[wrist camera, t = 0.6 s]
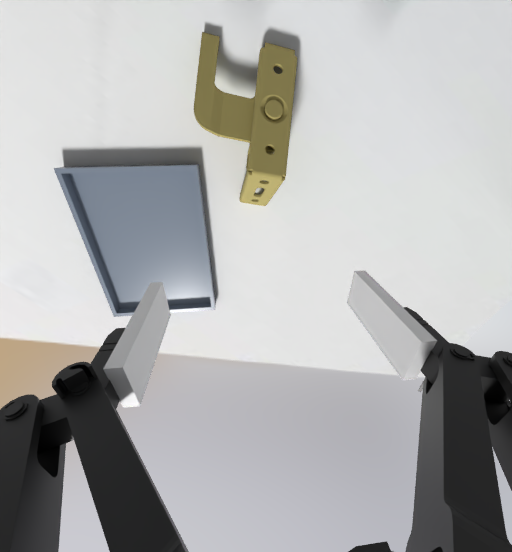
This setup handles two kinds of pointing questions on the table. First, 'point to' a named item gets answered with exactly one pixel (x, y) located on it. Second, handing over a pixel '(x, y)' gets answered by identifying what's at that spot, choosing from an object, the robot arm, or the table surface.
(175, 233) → the tray
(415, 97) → the table surface
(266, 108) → the bracket
